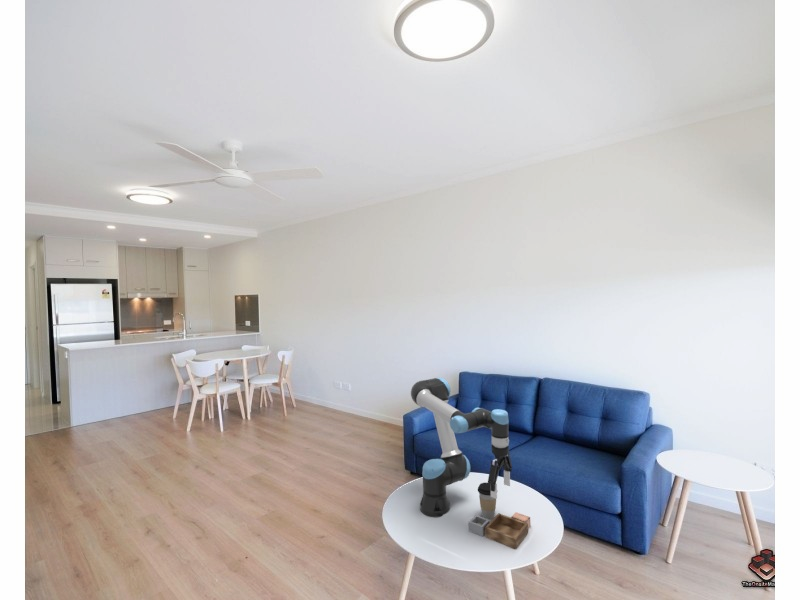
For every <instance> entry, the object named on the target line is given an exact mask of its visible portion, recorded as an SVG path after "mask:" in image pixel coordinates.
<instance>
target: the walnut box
mask: <svg viewBox="0 0 800 600" xmlns="http://www.w3.org/2000/svg"><path fill="white" fill-rule="evenodd" d="M511 517H512V516H507V515H505V514H502V513H497V515H496V514H495V517H494V518H493V519H491V520H490V523H489V524H488V525H487V526H486V527H485V535H484V536H485V538H486V539H489V540H491V541H494V542H497V543H499V544H502V545H504V546H506V547H509V548H511V549H514V550H518V548H519V546H520V545H521V543H522V541H524V539H526V537H527V535H528V534H529V529H528V523H525V522H522V521H519V520H517V519H514V518H511Z"/></svg>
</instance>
